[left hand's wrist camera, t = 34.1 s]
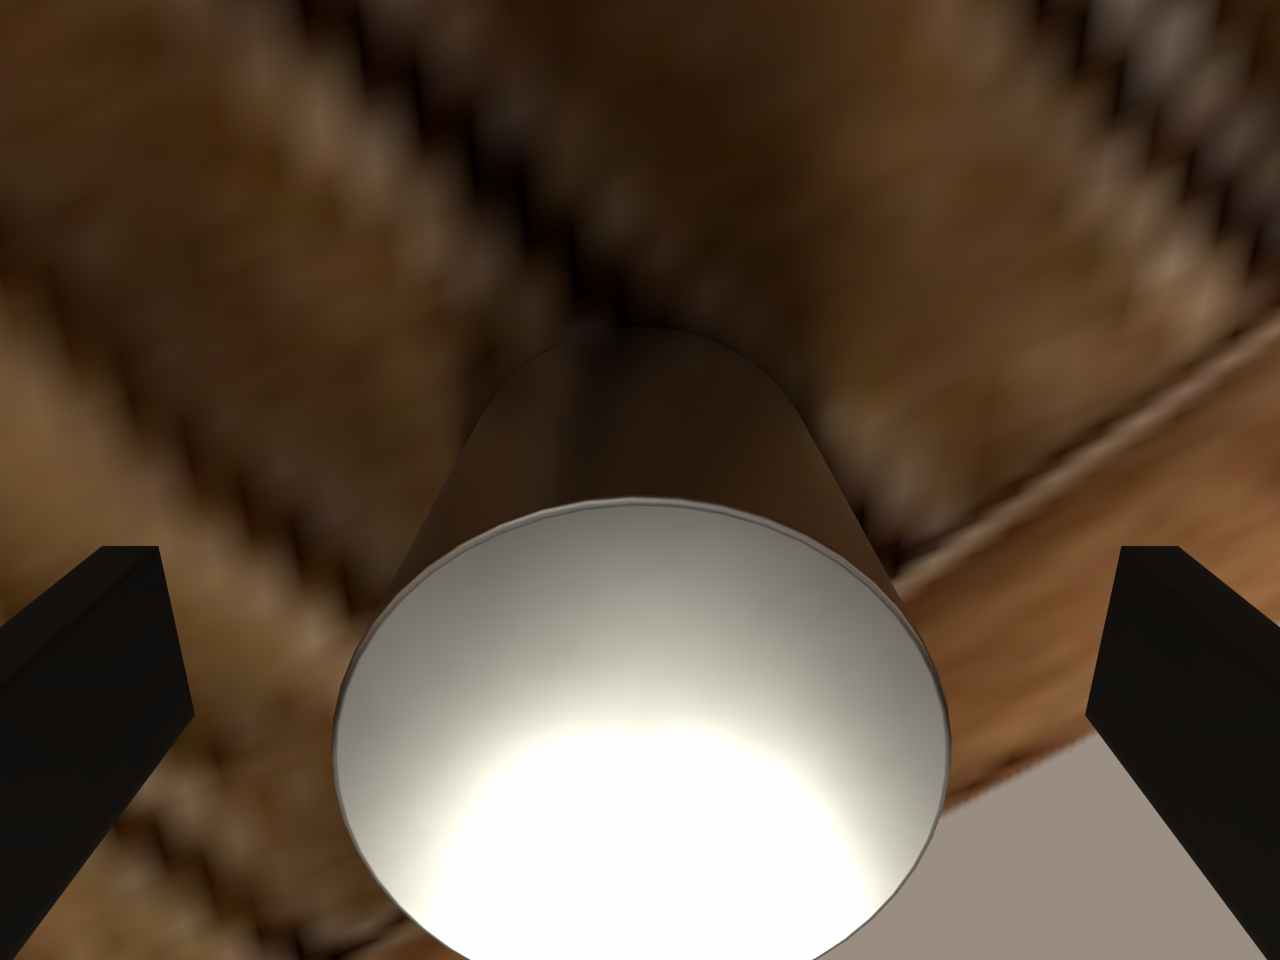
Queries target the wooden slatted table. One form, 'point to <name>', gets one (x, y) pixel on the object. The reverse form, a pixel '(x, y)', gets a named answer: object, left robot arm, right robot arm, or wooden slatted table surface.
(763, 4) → the wooden slatted table surface
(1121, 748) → the left robot arm
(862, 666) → the can
